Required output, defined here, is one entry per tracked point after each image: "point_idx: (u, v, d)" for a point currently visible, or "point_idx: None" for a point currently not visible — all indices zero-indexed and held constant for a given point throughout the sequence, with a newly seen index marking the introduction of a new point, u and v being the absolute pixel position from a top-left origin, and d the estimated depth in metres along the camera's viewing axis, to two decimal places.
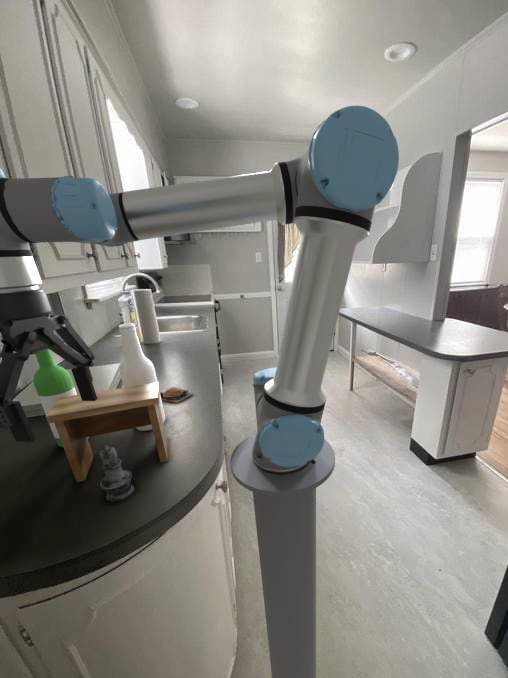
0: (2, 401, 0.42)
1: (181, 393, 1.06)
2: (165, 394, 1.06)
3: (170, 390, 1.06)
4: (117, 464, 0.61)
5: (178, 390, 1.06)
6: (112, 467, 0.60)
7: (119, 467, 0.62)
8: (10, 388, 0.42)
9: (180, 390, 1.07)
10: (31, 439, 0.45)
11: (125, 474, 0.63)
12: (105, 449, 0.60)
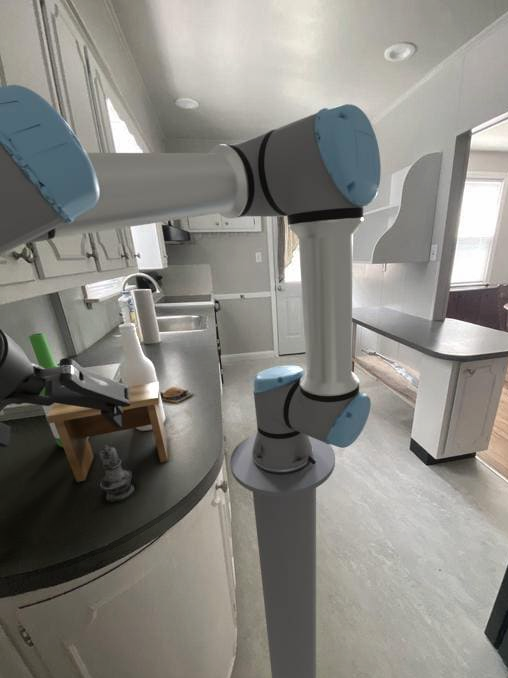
0: None
1: (181, 393, 1.06)
2: (165, 394, 1.06)
3: (170, 390, 1.06)
4: (117, 464, 0.61)
5: (178, 390, 1.06)
6: (112, 467, 0.60)
7: (119, 467, 0.62)
8: None
9: (180, 390, 1.07)
10: None
11: (125, 474, 0.63)
12: (105, 449, 0.60)
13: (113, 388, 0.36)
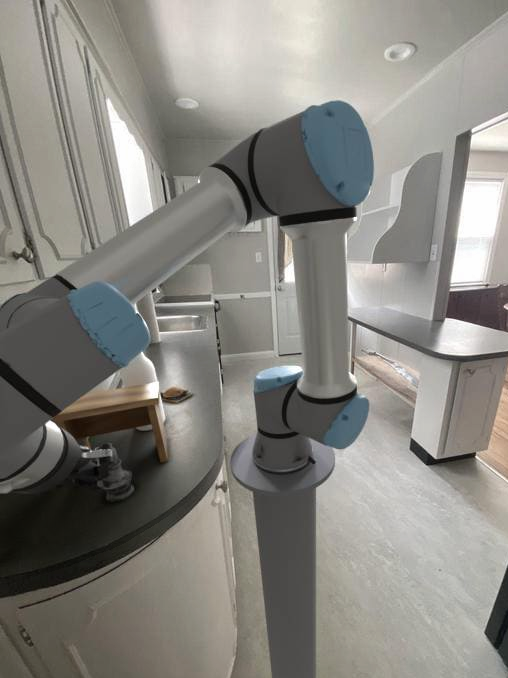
0: (95, 465, 0.47)
1: (181, 393, 1.06)
2: (165, 394, 1.06)
3: (170, 390, 1.06)
4: (117, 464, 0.61)
5: (178, 390, 1.06)
6: (112, 467, 0.60)
7: (119, 467, 0.62)
8: None
9: (180, 390, 1.07)
10: None
11: (125, 474, 0.63)
12: None
13: None
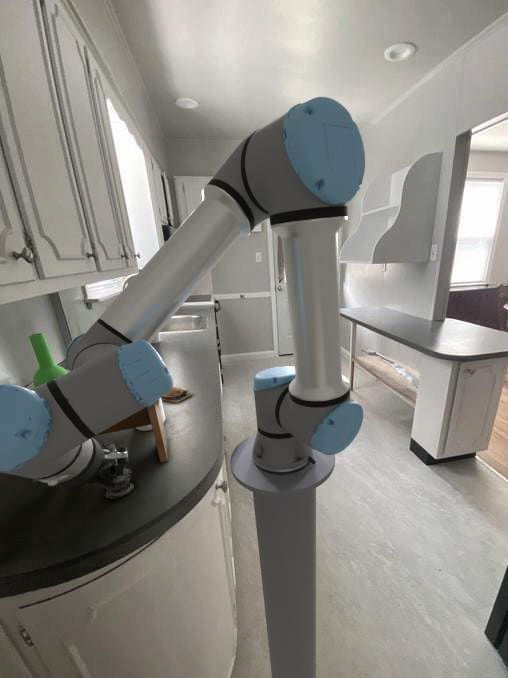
0: None
1: (181, 393, 1.06)
2: None
3: None
4: None
5: (178, 390, 1.06)
6: (111, 462, 0.61)
7: None
8: None
9: (180, 390, 1.07)
10: None
11: (124, 471, 0.64)
12: (104, 444, 0.61)
13: None
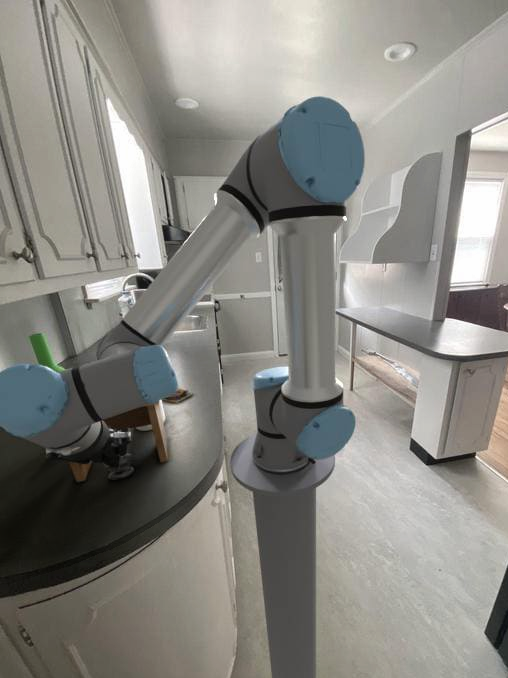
0: None
1: (181, 393, 1.06)
2: None
3: None
4: None
5: (178, 390, 1.06)
6: None
7: None
8: None
9: (180, 390, 1.07)
10: None
11: (126, 454, 0.69)
12: None
13: None
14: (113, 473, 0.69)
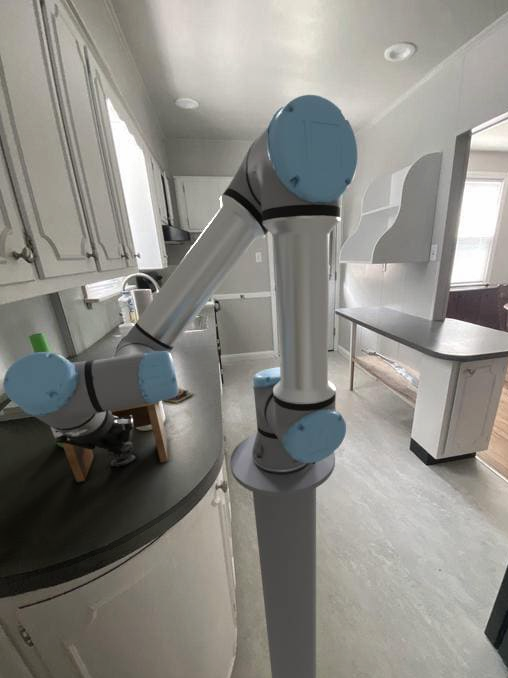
0: None
1: (181, 393, 1.06)
2: None
3: None
4: None
5: None
6: None
7: None
8: None
9: (180, 390, 1.07)
10: None
11: (128, 443, 0.74)
12: None
13: None
14: (115, 460, 0.73)
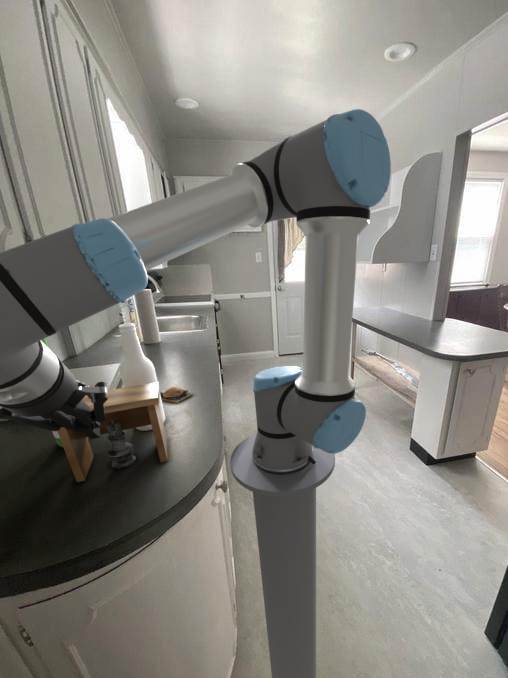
0: None
1: (181, 393, 1.06)
2: (165, 394, 1.06)
3: (170, 390, 1.06)
4: (122, 435, 0.71)
5: (178, 390, 1.06)
6: (118, 438, 0.70)
7: (123, 438, 0.72)
8: None
9: (180, 390, 1.07)
10: None
11: (128, 445, 0.73)
12: (111, 422, 0.70)
13: None
14: (116, 462, 0.73)
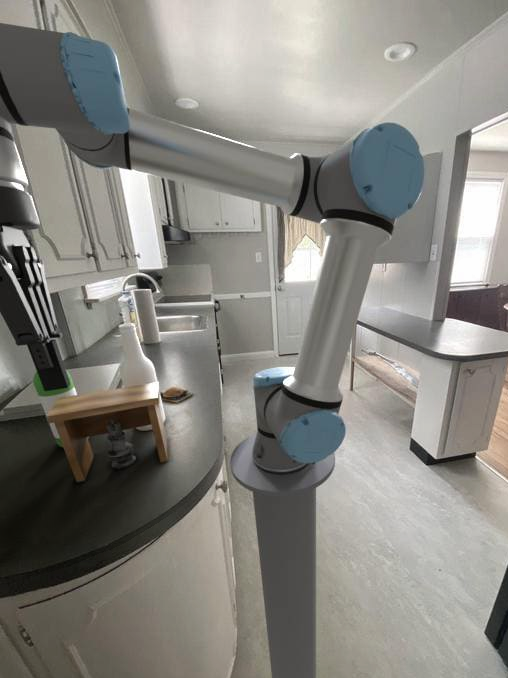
0: (44, 340, 0.38)
1: (181, 393, 1.06)
2: (165, 394, 1.06)
3: (170, 390, 1.06)
4: (122, 435, 0.71)
5: (178, 390, 1.06)
6: (118, 438, 0.70)
7: (123, 438, 0.72)
8: (41, 323, 0.37)
9: (180, 390, 1.07)
10: (67, 385, 0.42)
11: (128, 445, 0.73)
12: (111, 422, 0.70)
13: (18, 319, 0.34)
14: (116, 462, 0.73)
